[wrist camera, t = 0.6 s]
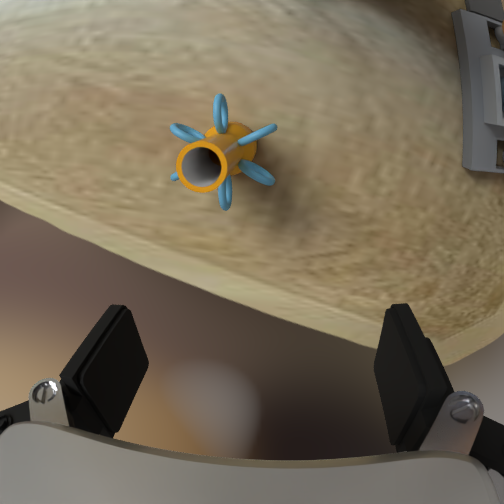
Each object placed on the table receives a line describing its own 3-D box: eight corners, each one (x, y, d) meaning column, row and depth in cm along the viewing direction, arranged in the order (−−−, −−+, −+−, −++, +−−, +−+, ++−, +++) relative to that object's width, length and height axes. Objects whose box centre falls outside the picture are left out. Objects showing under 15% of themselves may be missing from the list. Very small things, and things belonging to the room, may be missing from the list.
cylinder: (299, 135, 35) (308, 149, 21) (254, 205, 39) (238, 258, 26) (210, 85, 33) (165, 72, 20) (171, 158, 38) (113, 186, 24)
